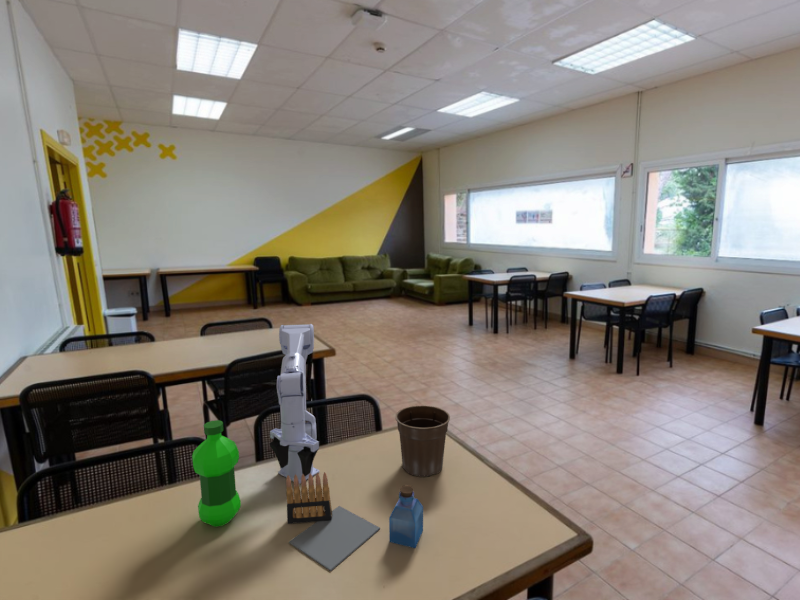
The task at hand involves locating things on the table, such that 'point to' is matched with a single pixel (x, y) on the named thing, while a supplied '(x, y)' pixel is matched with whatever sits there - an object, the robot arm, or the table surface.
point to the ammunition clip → (308, 500)
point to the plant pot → (422, 438)
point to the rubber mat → (334, 537)
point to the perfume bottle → (406, 519)
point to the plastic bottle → (216, 476)
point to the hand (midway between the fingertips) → (295, 470)
